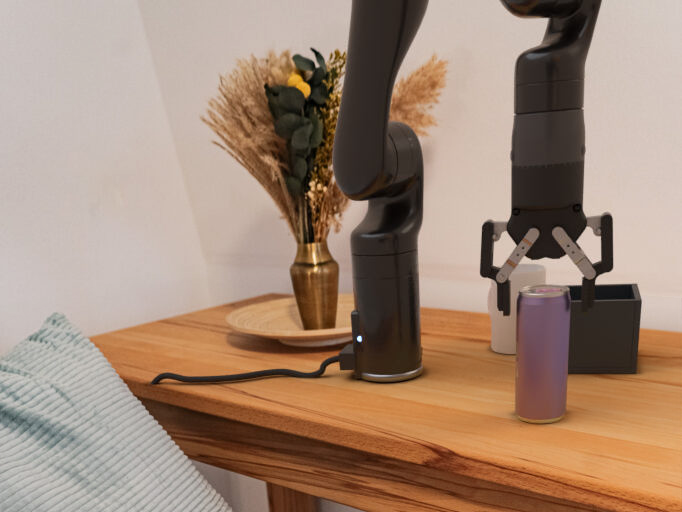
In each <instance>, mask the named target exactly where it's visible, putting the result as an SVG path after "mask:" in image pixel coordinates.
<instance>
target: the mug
mask: <svg viewBox="0 0 682 512" xmlns="http://www.w3.org/2000/svg"><path fill="white" fill-rule="evenodd" d="M502 266H503V265H499V266H498V265H497V267H499V268H501V267H502ZM509 280H511V311H510V316H503V311H499V310H498V308H497V284H496V282H495V281H494V280H492V279H490V287H489V290H488V293H487V311H488V316H489V318H490V332H491V333H490V348H491V350H492V351H493V352H495V353H498V354H504V355H516V300H517V298H518V295H519V293H518V291H519V289H520V288H523V287H527V286H533V285H547V268H546V266H545V265H543V264H537V263H519V264H518V265H517V266H516V268H515V269H514V270H513V272H512V273H511V274H510V276H509Z"/></svg>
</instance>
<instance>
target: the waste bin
mask: <svg viewBox="0 0 682 512" xmlns="http://www.w3.org/2000/svg"><path fill="white" fill-rule="evenodd" d="M561 285H562V286H566V287H568V288H569V289H570V291H569V294H570V297H571V309H570V333H569V356H568V375H569V374H576V375H577V374H579V375H581V374H583V375H584V374H586V375H587V374H603V375H604V374H605V375H606V374H611V375H612V374H615V375H616V374H620V375H621V374H626V375H627V374H633V375H634V374H637V369H638V368H637V367H638V356H639V344H640V331H641V319H642V318H641V317H642V305H643V299H642V296H641V293H640V289H639V286H638V283H606V284H605V283H602V284H601V283H600V284H599V283H598V284H595V300H594V305H593V308H588V312H587V313H585V314H581V298H582V284H567V285H566V284H565V285H563V284H561Z"/></svg>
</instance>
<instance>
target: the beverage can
mask: <svg viewBox="0 0 682 512" xmlns="http://www.w3.org/2000/svg"><path fill="white" fill-rule="evenodd" d="M562 285H563V284H546V285H533V286H527V287H523V288H520V289H519V291H518V293H519V295H518V298H517V300H516V354H515V367H514V368H515V374H514V375H515V376H514V413H515V415H516V417H517V418H518V419H519V420H521V422H524V423H529V424H539V425H540V424H542V425H543V424H552V423H555V422H558V421H560V420H562V419H563V418H564V416H565V415H566V413H567V403H568V402H567V400H568V378H569V377H568V376H569V374H568V356H569V333H570V309H571V297H570V294H569V291H570V289H569V288H568V287H566V286H562Z"/></svg>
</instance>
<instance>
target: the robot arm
mask: <svg viewBox="0 0 682 512" xmlns="http://www.w3.org/2000/svg"><path fill="white" fill-rule="evenodd" d="M429 2H430V0H351V8H350V9H351V11H350V21H349V30H348V38H347V49H346V58H345V59H346V60H345V68H344V77H343V83H342V89H341V90H342V91H341V96H340V102H339V109H338V113H337V119H336V125H335V131H334V137H333V144H332V152H331V153H332V154H331V155H332V157H331V161H332V162H331V163H332V172H333V176H334V181H335V183H336V186H337V188H338V190H339V191H340V192H341V194H342V195H343V196H344V197H345V198H347V199H348V200H351V201H354V202H365V201H367V210H366V213H365V215H364V217H363V218H362V220H361V222H359V224H358V225H357V226H356V227H354V229H352V231H351V232H350V236H349V250H350V251H349V252H350V263H351V277H352V278H351V280H352V292H353V295H352V296H353V310H352V311H351V312H350V324H351V325H350V326H351V340H352V341H351V342H352V343H349V344H346V345H345V346H344V347H343V349H341V350H340V351H339V352H338V355H333V356H331V357H328V358H326V359H325V360H323V361H322V362H321V364H320V365H319V369H316V370H315V371H311V372H304V371H298V370H294V369H291V368H270V369H262V370H255V371H249V372H241V373H235V374H222V375H199V376H198V375H197V376H195V375H191V376H190V375H189V376H188V375H182V374H179V373H174V372H169V371H168V372H161V373H159V374H158V375H156V376H155V377H154V378H153V379H152V380H151V381H150V385H158V384H159V383H160V382H161V381H163V380H172V381H177V382H181V383H188V384H203V383H227V382H237V381H238V382H239V381H246V380H252V379H258V378H264V377H272V376H273V377H274V376H288V377H292V378H293V377H294V378H301V379H317V378H319V377H322V376H323V375H324V374H325V372H326V369H327V367H329V366H331V365H332V364H336V363H338V364H339V365H338V366H339V371H353V372H354V379H356V380H365V381H369V382H374V383H375V382H376V383H392V382H402V381H406V380H407V381H408V380H411V379H413V378H416V377H419V376H420V375H422V374H423V372H424V363H423V346H422V322H421V321H422V320H421V296H420V295H421V293H420V268H419V267H420V266H419V235H420V232H421V230H422V226H423V222H424V195H425V194H424V193H425V167H424V165H425V164H424V155H423V154H424V153H423V149H422V148H423V147H422V145H421V142H420V139H419V137H418V134H417V133H416V132H415V130H414V128H412V127H411V126H410V125H408V124H407V123H405V122H402V121H398V120H390V115H391V114H390V113H391V107H392V106H391V105H392V99H393V93H394V87H395V83H396V80H397V77H398V74H399V72H400V70H401V68H402V65H403V63H404V60H405V58H406V57H407V54H408V53H409V50H410V48H411V47H412V45H413V42H414V40H415V39H416V37H417V35H418V32H419V30H420V29H421V26H422V23H423V20H424V18H425V16H426V13H427V11H428V7H429ZM499 2H500V4H501V5H502V7H504V9H505V10H506V11H507V12H508V13H510V14H511V15H512V16H514V17H516V18H519V19H522V20H524V19H525V20H533V19H534V20H536V19H547V24H546V27H545V30H544V31H545V32H544V35H543V37H542V40H541V43H539V45H536V46H533V47H530V48H528V49H525V50H524V51H522V52H521V53H520V54H519V55H518V56H517V58H516V60H515V63H514V70H513V71H514V73H513V114H514V115H513V122H512V123H513V124H512V132H511V143H510V144H511V147H510V148H511V150H510V152H509V153H510V155H509V158H510V162H511V163H510V164H511V165H510V167H511V168H510V169H511V170H510V171H511V172H510V174H511V175H510V177H511V178H510V180H511V182H510V185H511V186H510V190H511V191H510V193H511V194H510V195H511V198H510V206H511V207H510V210H511V212H510V216H509V219H508V220H507V221H504V220H503V221H501V220H499V221H498V220H497V221H496V220H493V219H491V218H490V219H487V220H485V221H484V222H483V224H482V226H481V235H480V236H481V237H480V238H481V239H480V258H479V259H480V261H479V275H480V277H482V278H484V279H490V280H491V279H492V280H494V281H495V282H496V284H497V308H498V310H499V311H503V316H510V311H511V280H509V276H510V274H511V273H512V272H513V270H514V269H515V268H516V266H517V265H518V264H520V262H522V260H523V258H524V257H525V258H526V259H529V260H531V261H539V260H542V259H545V258H547V259H549V260H550V259H551V260H560V259H562V258H564V257H565V256H568V258H569V259H570V260H571V261H572V263H573V264H574V265H575V266H576V267H577V268H578V270H579V271H580V272H581V274H582V275H583V276H581V285H582V298H581V314H585V313H587V312H588V308H593V305H594V300H595V285H596V280H597V278H598V277H599V276H601V275H603V274H607V273H610V272H612V271H613V269H614V218H613V215H612V213H610V211H609V212H608V211H605V212H603V213H602V214H599V215H590V216H586V213H585V212H584V188H585V187H584V185H585V160H586V159H585V158H586V157H585V156H586V152H587V151H586V150H587V148H586V147H587V146H586V125H585V109H584V107H585V79H586V62H587V59H588V55H589V52H590V48H591V45H592V41H593V37H594V32H595V29H596V26H597V22H598V18H599V13H600V10H601V6H602V3H603V0H499ZM587 227H588V228H590V229H591V230H592V233H593V235H594V236H595V237H600V260H599V261H597V262H594V263H592V261H591V260H590V259H589V258H588V255H586V253H585V252H584V250H583V249H582V247H581V246H580V245H579V243H578V242H577V241H578V240H579V239H580V238H581V236H582V235H583V233H584V232H585V231H586V229H587ZM504 232H506V233H507V235H508V236H509V237H510V238H511V239H512V242H514V244H515V245H516V246H515V247H514V249H513V250H512V252H511V253H510V254H509V256H508V257H507V259H506V260H505V261H504V263H503V264H502V265H501V266H502V267H501V268H499V267H498V266H495V265H494V251H495V250H494V249H495V243H497V242H498V241H500V239H501V238H502V234H503V233H504Z"/></svg>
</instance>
